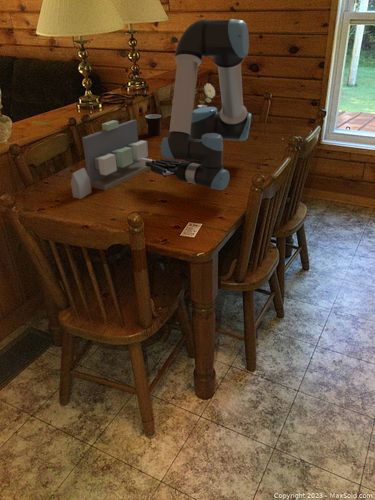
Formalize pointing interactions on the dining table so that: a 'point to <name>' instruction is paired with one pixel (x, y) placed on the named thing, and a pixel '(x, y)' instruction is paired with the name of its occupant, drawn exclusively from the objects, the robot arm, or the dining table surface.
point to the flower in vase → (207, 94)
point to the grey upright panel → (103, 145)
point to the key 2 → (139, 149)
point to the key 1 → (105, 164)
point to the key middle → (123, 156)
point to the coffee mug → (153, 124)
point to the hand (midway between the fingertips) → (141, 161)
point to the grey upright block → (80, 184)
